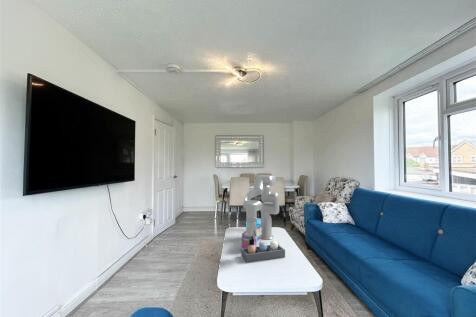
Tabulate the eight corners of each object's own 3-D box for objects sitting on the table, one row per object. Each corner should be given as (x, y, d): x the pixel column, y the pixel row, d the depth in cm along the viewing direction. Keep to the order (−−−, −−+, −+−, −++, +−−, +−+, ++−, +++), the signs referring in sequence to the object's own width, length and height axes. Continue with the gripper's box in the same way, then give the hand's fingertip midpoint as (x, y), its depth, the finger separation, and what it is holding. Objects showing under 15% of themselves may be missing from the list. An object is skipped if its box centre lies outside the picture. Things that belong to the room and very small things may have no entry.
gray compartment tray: (241, 255, 166) (241, 248, 167) (277, 251, 175) (277, 244, 175) (246, 262, 155) (246, 254, 155) (285, 257, 164) (285, 249, 164)
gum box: (253, 241, 198) (253, 225, 198) (261, 242, 194) (261, 226, 194) (241, 250, 176) (241, 233, 176) (250, 252, 173) (250, 235, 173)
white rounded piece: (269, 249, 170) (268, 241, 170) (275, 248, 171) (275, 240, 171) (272, 252, 164) (272, 244, 164) (279, 251, 166) (279, 243, 166)
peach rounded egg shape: (246, 254, 164) (246, 245, 164) (253, 253, 166) (253, 245, 166) (249, 257, 159) (249, 248, 159) (256, 256, 161) (256, 247, 161)
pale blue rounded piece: (258, 250, 167) (258, 242, 167) (264, 249, 169) (264, 241, 169) (260, 253, 162) (260, 245, 162) (268, 252, 163) (267, 244, 163)
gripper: (243, 217, 169) (243, 241, 169) (250, 222, 155) (250, 249, 155) (252, 216, 171) (252, 240, 171) (260, 221, 157) (260, 247, 157)
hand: (251, 244), depth 163 cm, fingers closed
